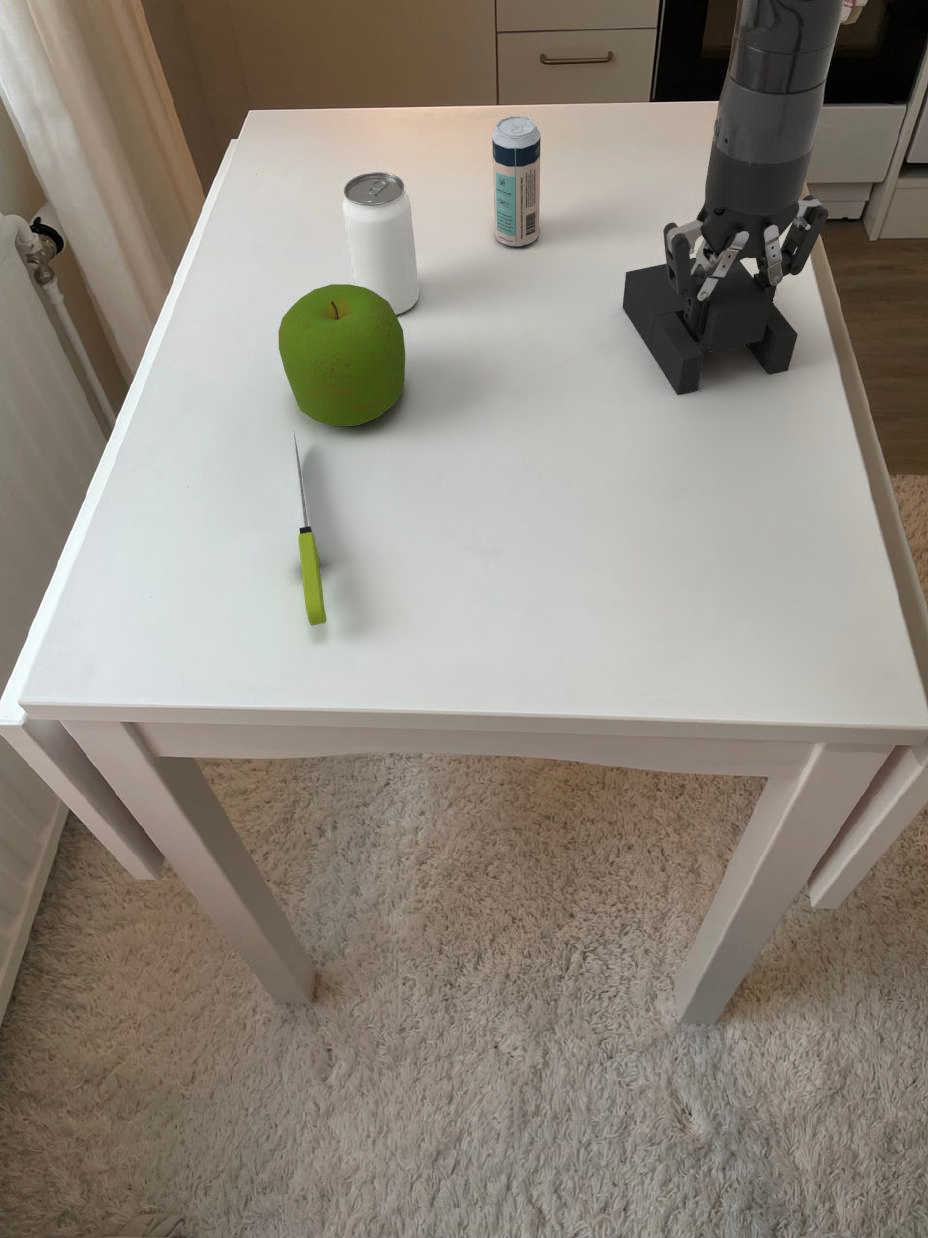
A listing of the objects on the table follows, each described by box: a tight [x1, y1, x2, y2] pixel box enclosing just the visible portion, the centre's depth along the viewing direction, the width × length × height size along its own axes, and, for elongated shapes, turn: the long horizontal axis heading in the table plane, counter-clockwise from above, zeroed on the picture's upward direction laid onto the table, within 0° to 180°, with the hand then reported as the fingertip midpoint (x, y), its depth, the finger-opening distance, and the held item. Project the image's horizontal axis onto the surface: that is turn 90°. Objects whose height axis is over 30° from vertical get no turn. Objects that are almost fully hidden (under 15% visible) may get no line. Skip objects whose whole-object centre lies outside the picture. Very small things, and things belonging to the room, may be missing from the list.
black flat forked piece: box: [622, 253, 798, 396], centre depth 90 cm, size 14×11×4 cm
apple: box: [278, 283, 406, 427], centre depth 85 cm, size 11×11×11 cm
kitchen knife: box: [292, 429, 327, 626], centre depth 78 cm, size 22×1×3 cm, turn 11°
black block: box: [697, 270, 772, 353], centre depth 85 cm, size 5×5×4 cm
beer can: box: [491, 115, 541, 248], centre depth 99 cm, size 5×5×12 cm
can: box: [341, 171, 420, 316], centre depth 93 cm, size 6×6×12 cm
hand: (725, 321), depth 86 cm, fingers closed on black block, 5 cm apart
